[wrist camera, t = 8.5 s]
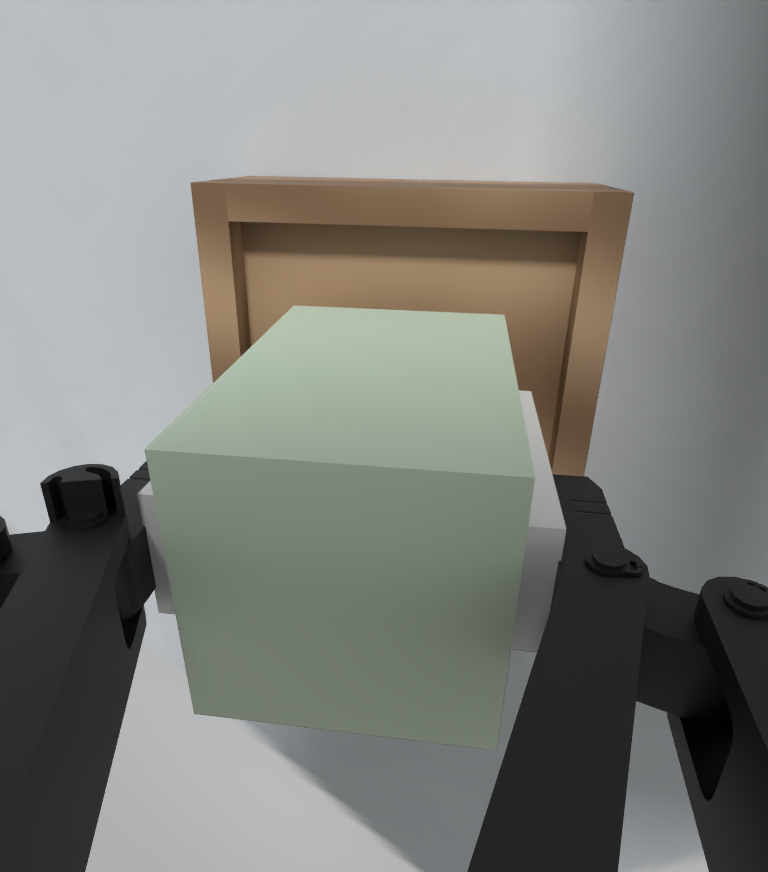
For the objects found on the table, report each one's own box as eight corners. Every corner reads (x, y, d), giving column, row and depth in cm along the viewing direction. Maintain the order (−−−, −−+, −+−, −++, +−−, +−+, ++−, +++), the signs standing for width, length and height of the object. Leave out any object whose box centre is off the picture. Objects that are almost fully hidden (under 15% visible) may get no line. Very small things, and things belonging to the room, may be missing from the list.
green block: (293, 305, 17) (144, 450, 9) (504, 314, 17) (534, 477, 9) (303, 484, 20) (194, 713, 12) (485, 498, 20) (496, 750, 12)
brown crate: (249, 176, 22) (190, 182, 17) (597, 183, 20) (634, 192, 16) (271, 473, 27) (230, 538, 22) (550, 494, 25) (567, 568, 21)
